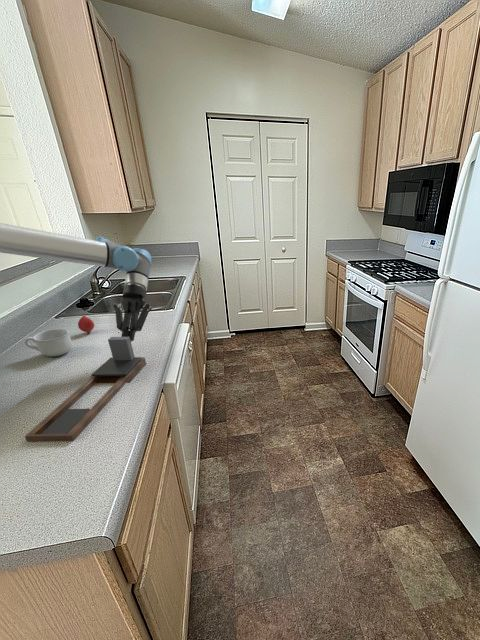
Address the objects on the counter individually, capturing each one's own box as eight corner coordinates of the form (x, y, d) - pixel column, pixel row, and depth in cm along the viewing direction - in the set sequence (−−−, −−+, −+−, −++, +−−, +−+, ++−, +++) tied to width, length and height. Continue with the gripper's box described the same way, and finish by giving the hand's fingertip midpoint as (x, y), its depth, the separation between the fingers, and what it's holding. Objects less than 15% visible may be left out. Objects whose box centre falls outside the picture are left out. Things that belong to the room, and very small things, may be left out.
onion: (80, 336, 140) (74, 318, 137) (81, 331, 145) (76, 314, 141) (95, 334, 142) (90, 316, 139) (97, 329, 147) (91, 312, 143)
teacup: (79, 346, 130) (73, 327, 127) (67, 358, 121) (59, 338, 117) (40, 349, 128) (32, 330, 125) (24, 361, 119) (16, 341, 115)
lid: (110, 359, 113) (104, 336, 110) (141, 358, 113) (136, 336, 110) (91, 376, 103) (83, 352, 99) (125, 375, 103) (119, 351, 99)
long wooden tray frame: (114, 364, 116) (112, 357, 115) (146, 363, 116) (144, 357, 115) (28, 445, 79) (24, 436, 77) (75, 444, 79) (71, 435, 77)
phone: (68, 411, 89) (67, 408, 88) (91, 411, 89) (90, 408, 88) (40, 438, 79) (38, 435, 79) (65, 438, 79) (64, 435, 79)
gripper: (157, 293, 124) (149, 352, 117) (122, 294, 124) (112, 353, 117) (149, 283, 117) (140, 345, 110) (112, 283, 117) (100, 345, 110)
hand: (125, 349), depth 113 cm, fingers closed
